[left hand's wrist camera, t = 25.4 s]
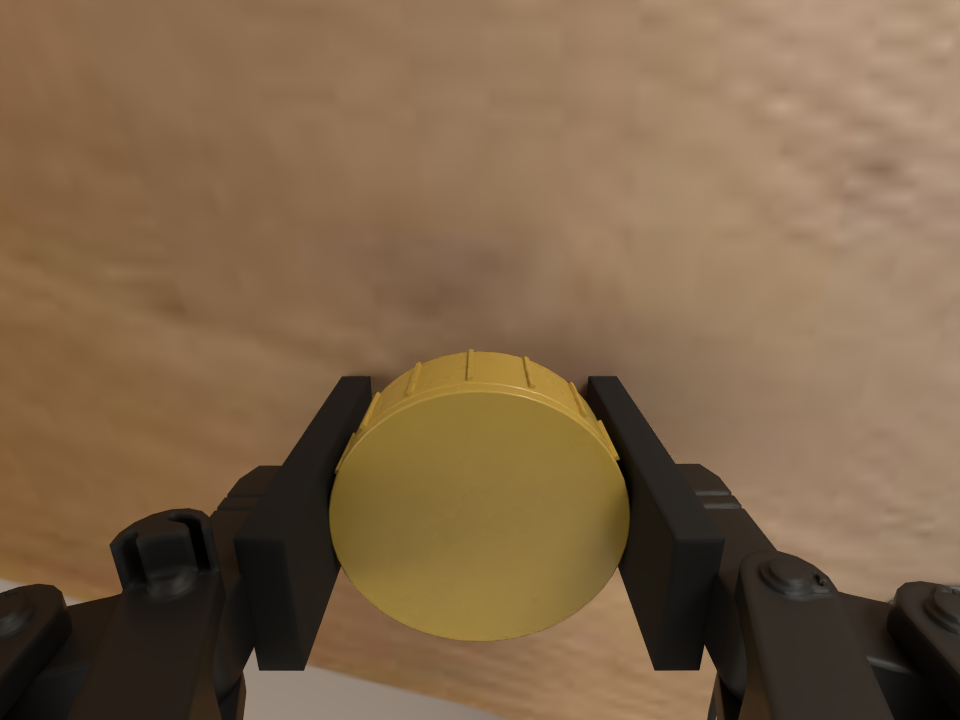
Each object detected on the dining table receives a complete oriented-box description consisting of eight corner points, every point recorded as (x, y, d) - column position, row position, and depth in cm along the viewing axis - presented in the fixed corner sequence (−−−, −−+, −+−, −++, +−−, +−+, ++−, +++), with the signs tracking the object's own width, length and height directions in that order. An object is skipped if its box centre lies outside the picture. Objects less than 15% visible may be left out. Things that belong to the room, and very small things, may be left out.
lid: (345, 556, 13) (320, 627, 11) (360, 332, 11) (332, 368, 9) (578, 582, 13) (596, 656, 11) (633, 368, 11) (667, 411, 9)
